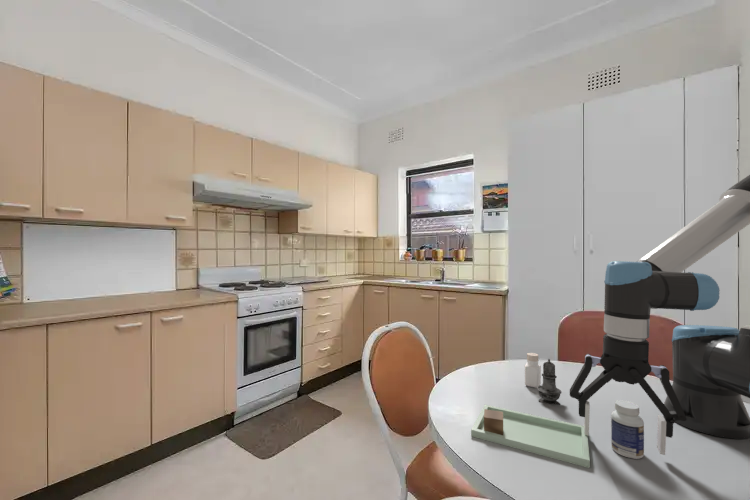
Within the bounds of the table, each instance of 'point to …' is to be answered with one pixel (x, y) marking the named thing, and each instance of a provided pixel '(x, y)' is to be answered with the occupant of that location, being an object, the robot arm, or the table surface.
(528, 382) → the salt shaker
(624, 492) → the table surface
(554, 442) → the tray
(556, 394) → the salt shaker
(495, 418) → the walnut block
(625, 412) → the pill bottle
